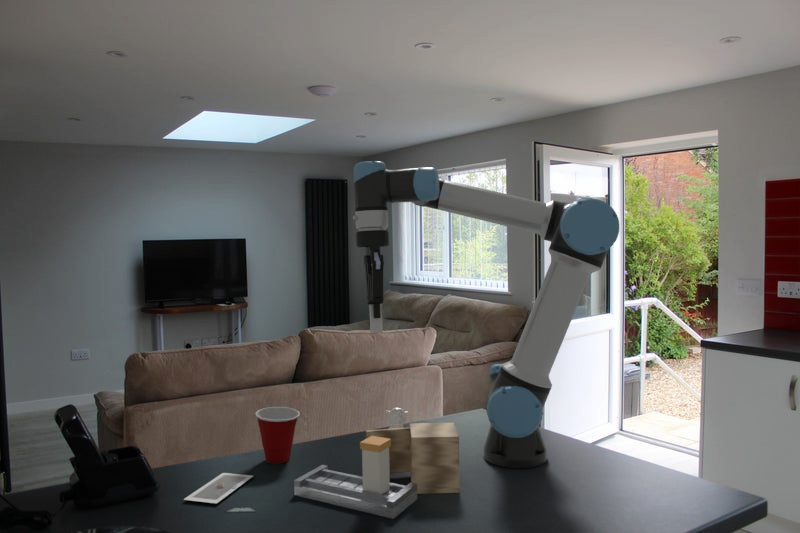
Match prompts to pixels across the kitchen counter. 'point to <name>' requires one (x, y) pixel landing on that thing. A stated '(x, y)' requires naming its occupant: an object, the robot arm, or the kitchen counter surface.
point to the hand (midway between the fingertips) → (376, 331)
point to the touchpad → (218, 488)
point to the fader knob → (375, 464)
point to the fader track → (353, 492)
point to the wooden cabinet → (425, 455)
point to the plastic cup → (277, 432)
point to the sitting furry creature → (396, 417)
